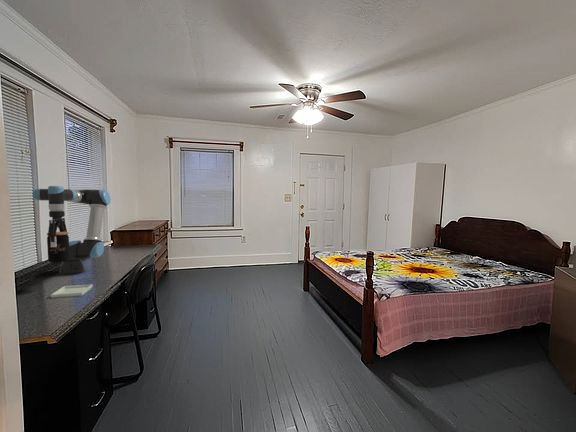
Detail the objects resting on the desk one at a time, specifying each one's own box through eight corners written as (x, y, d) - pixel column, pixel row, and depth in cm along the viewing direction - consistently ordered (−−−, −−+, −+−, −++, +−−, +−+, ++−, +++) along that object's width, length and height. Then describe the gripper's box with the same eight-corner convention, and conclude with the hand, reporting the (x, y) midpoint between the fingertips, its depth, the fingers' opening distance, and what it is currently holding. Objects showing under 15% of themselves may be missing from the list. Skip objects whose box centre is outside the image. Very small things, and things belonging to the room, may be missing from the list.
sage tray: (64, 288, 175) (63, 286, 175) (92, 287, 180) (92, 284, 179) (50, 297, 160) (50, 294, 160) (82, 295, 165) (82, 292, 164)
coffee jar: (44, 263, 171) (42, 234, 170) (53, 259, 181) (52, 231, 180) (64, 262, 174) (63, 233, 173) (73, 258, 184) (71, 231, 183)
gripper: (59, 209, 185) (60, 242, 187) (38, 211, 163) (40, 249, 165) (72, 209, 187) (73, 242, 189) (54, 211, 165) (55, 248, 167)
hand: (58, 245), depth 177 cm, fingers closed on coffee jar, 11 cm apart
